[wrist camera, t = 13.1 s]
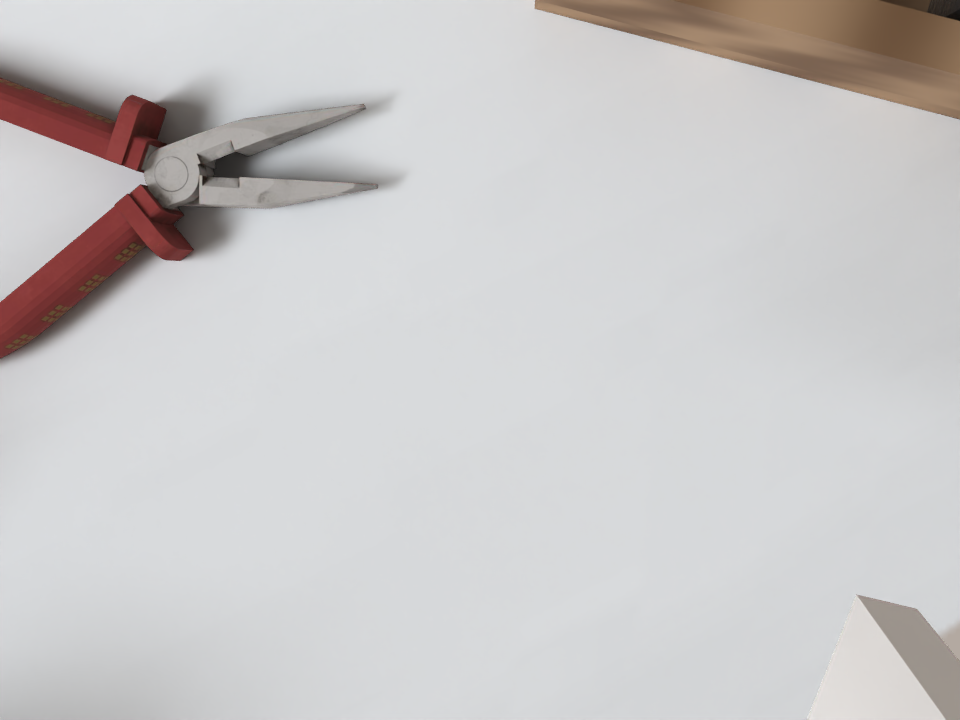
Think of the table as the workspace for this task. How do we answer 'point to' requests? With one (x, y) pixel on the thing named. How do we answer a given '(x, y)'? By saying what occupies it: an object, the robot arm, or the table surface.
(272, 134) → the pliers
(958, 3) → the grey arch block
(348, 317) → the table surface
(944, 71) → the wooden planter box
